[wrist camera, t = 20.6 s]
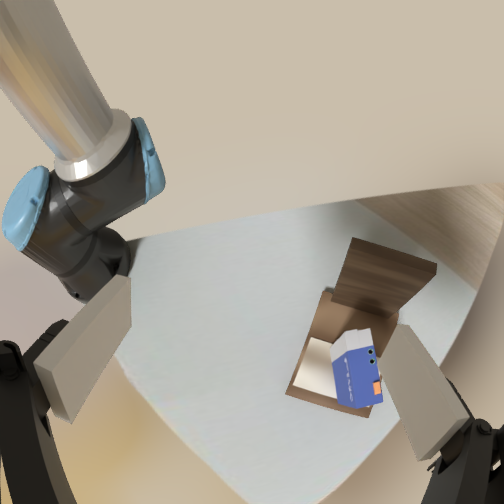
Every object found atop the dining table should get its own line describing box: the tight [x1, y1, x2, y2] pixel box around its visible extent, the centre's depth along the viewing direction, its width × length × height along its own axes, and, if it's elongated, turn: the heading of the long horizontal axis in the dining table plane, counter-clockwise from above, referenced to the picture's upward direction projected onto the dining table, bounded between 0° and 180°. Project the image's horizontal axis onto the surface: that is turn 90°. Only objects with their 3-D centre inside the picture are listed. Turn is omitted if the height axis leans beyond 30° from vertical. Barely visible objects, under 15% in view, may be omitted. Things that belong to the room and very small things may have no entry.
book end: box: [285, 237, 437, 418], centre depth 29 cm, size 16×12×18 cm
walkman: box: [330, 328, 383, 409], centre depth 29 cm, size 8×3×12 cm, turn 6°
